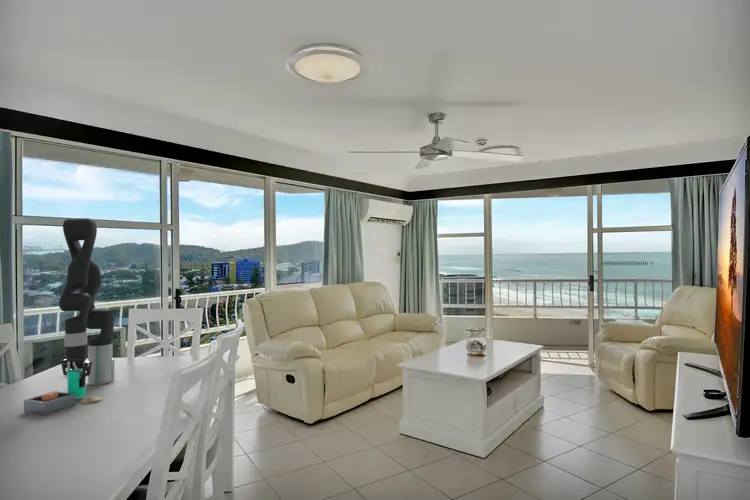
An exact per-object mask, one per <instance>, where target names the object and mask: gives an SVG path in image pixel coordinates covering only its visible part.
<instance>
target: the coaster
mask: <svg viewBox="0 0 750 500" xmlns="http://www.w3.org/2000/svg"><path fill="white" fill-rule="evenodd" d="M102 401H103V397H101V396H93V397H91V396H90V397H87V398H84V399H82V400H80V404H81V405H93V404H97V403H100V402H102Z"/></svg>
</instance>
